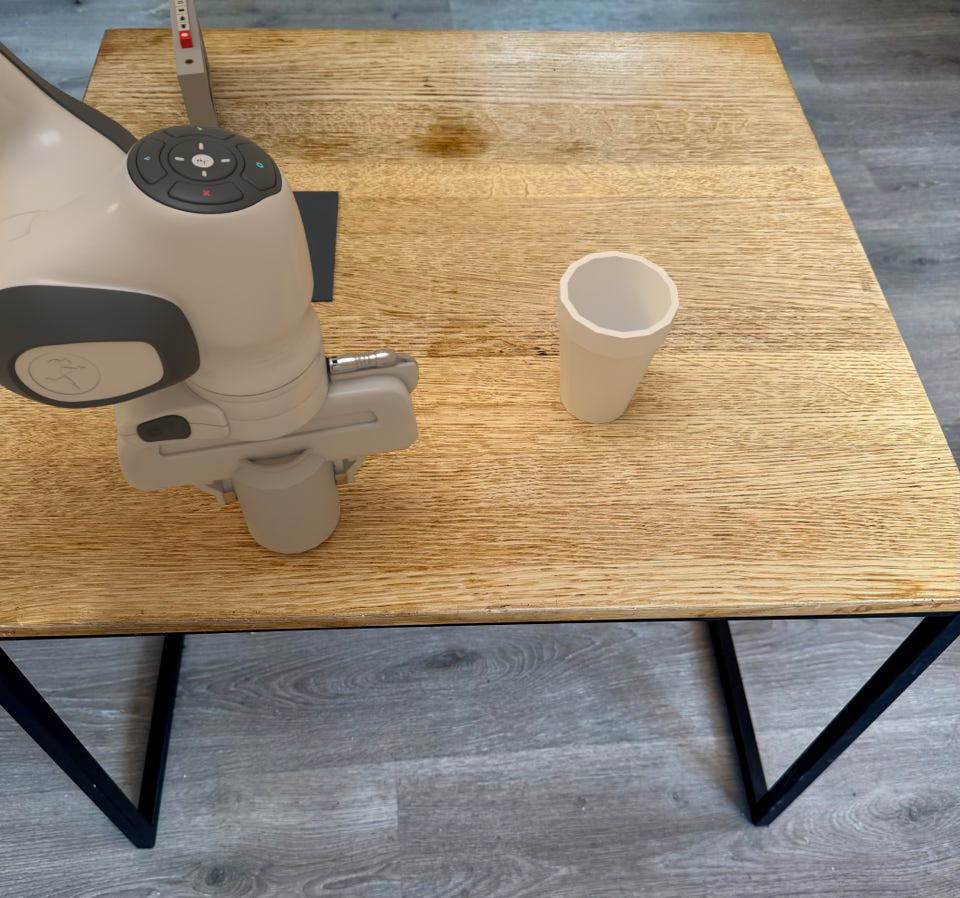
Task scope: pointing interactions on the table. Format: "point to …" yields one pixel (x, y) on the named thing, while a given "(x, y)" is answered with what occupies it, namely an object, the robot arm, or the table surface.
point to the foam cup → (610, 330)
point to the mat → (320, 237)
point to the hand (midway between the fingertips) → (286, 486)
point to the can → (288, 501)
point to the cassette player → (192, 64)
